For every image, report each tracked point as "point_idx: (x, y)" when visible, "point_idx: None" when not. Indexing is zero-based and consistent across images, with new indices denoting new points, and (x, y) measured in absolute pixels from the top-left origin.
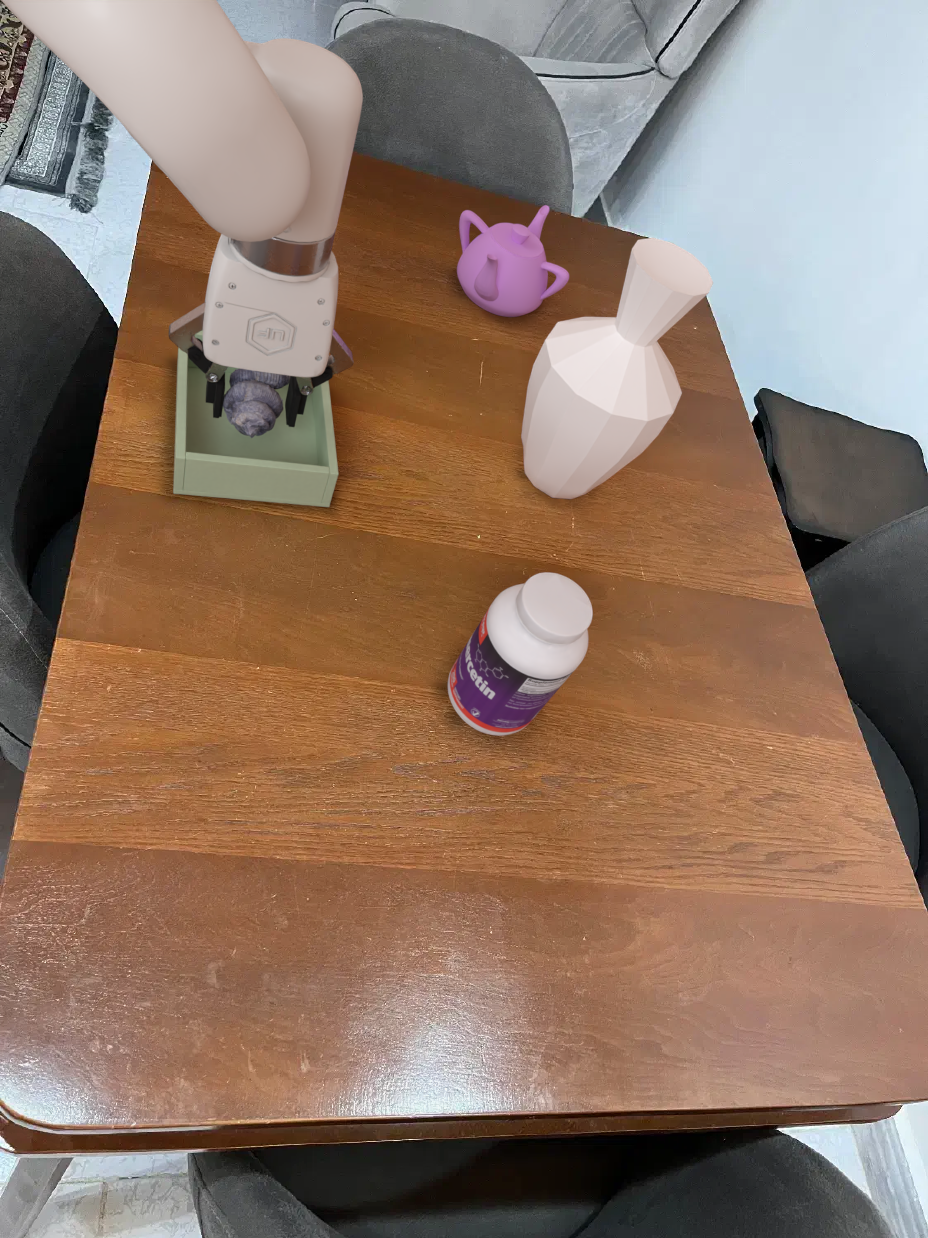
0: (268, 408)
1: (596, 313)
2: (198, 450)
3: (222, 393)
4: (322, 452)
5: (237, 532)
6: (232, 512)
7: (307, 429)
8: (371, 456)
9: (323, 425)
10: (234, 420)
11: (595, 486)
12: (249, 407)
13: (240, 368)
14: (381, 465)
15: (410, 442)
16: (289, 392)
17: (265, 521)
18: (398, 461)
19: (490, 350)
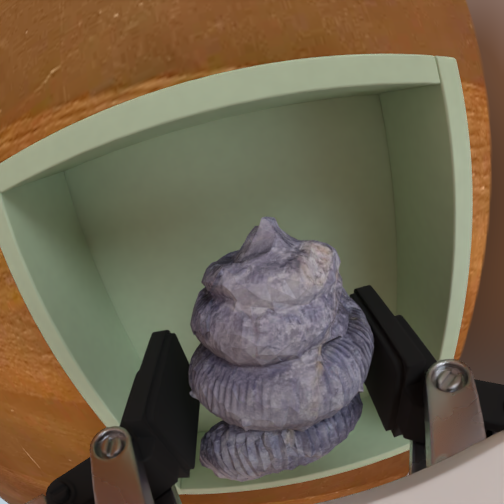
0: (220, 347)
1: (19, 493)
2: (365, 206)
3: (390, 344)
4: (69, 277)
5: (228, 4)
6: (251, 51)
7: None
8: None
9: (81, 350)
10: (334, 256)
11: None
12: (297, 321)
13: (432, 478)
14: (18, 307)
15: (15, 363)
16: (184, 420)
17: (170, 52)
18: (6, 323)
19: (44, 476)
